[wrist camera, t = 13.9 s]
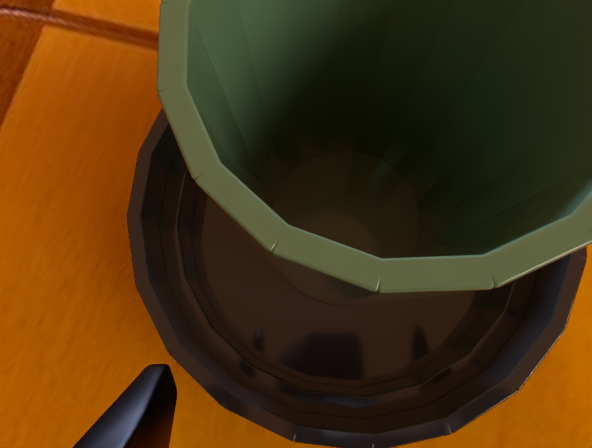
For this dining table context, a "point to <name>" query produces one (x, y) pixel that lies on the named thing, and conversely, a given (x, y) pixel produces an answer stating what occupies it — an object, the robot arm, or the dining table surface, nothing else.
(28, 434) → the dining table surface
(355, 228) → the cup
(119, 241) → the dining table surface
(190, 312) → the pan
